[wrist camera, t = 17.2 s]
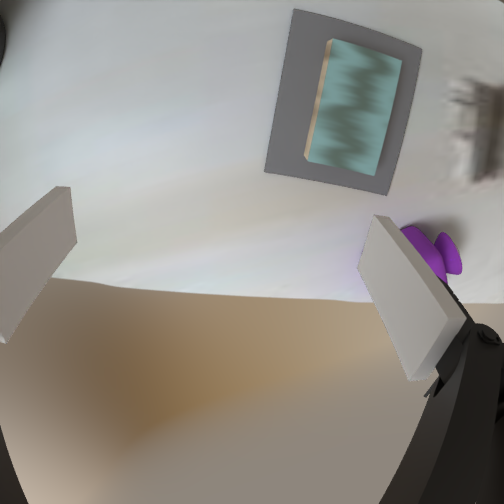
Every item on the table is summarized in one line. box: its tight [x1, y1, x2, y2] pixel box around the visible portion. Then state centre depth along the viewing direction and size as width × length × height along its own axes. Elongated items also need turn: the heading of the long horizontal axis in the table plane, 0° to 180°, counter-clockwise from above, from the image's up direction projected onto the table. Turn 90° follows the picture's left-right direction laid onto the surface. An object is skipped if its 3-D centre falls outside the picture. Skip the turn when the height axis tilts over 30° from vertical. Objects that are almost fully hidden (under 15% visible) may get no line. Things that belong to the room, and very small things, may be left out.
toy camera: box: [362, 226, 462, 284], centre depth 39 cm, size 11×14×10 cm
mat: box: [264, 9, 422, 196], centre depth 33 cm, size 16×20×1 cm
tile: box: [304, 38, 402, 176], centre depth 32 cm, size 8×3×14 cm
